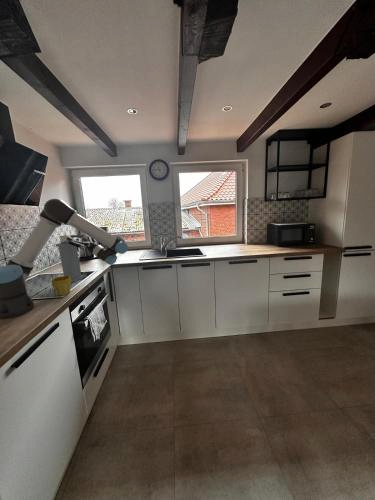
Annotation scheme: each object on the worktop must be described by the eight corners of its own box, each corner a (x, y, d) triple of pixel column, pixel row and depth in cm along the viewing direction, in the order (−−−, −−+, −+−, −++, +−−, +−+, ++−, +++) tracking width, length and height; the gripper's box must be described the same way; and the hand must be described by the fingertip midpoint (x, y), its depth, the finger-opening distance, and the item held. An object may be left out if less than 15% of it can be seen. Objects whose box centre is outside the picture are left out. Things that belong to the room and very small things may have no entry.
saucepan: (87, 241, 147) (86, 234, 145) (79, 243, 138) (78, 235, 137) (66, 241, 149) (65, 234, 148) (57, 243, 141) (56, 236, 140)
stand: (84, 277, 153) (78, 241, 147) (72, 282, 144) (66, 243, 138) (74, 277, 156) (67, 241, 151) (62, 281, 147) (55, 243, 141)
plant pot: (51, 298, 118) (48, 282, 116) (57, 291, 128) (54, 276, 126) (70, 295, 121) (68, 279, 119) (75, 289, 131) (72, 274, 129)
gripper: (80, 258, 127) (55, 241, 131) (107, 250, 150) (86, 236, 154) (83, 248, 124) (58, 231, 128) (110, 241, 148) (88, 228, 151)
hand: (73, 234), depth 141 cm, fingers open, 13 cm apart
